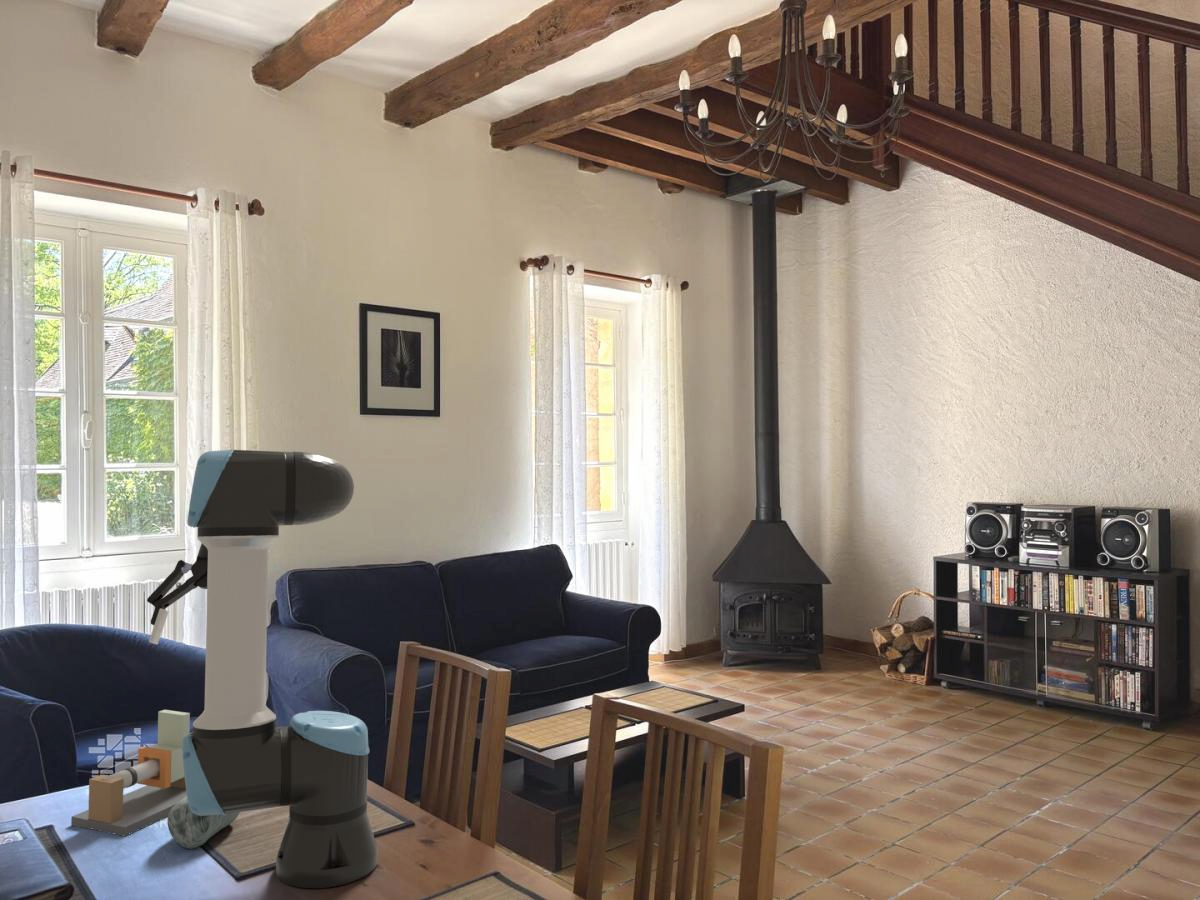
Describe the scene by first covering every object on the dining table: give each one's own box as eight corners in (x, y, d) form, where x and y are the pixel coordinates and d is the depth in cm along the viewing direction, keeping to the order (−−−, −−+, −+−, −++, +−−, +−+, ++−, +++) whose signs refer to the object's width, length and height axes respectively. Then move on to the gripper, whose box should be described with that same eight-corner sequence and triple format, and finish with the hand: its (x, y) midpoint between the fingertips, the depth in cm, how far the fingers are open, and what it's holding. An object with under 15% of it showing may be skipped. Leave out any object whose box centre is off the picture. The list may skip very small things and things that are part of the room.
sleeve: (188, 775, 166) (189, 713, 166) (171, 783, 162) (172, 718, 162) (163, 771, 168) (164, 709, 168) (146, 778, 164) (147, 715, 164)
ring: (170, 786, 162) (171, 750, 162) (165, 788, 161) (165, 752, 161) (142, 781, 164) (143, 746, 164) (137, 783, 163) (138, 748, 163)
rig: (213, 794, 168) (214, 748, 168) (124, 836, 149) (126, 784, 149) (163, 786, 172) (164, 741, 172) (71, 825, 153) (72, 775, 153)
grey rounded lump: (209, 838, 141) (195, 776, 145) (159, 861, 142) (146, 799, 146) (261, 826, 154) (247, 769, 157) (215, 848, 155) (202, 791, 159)
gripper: (288, 559, 184) (258, 662, 176) (166, 537, 183) (131, 640, 175) (280, 550, 177) (248, 658, 169) (153, 527, 176) (115, 635, 168)
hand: (188, 649), depth 172 cm, fingers open, 13 cm apart
